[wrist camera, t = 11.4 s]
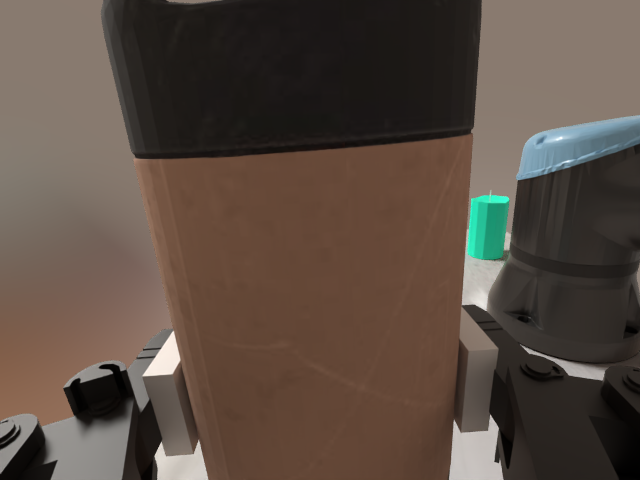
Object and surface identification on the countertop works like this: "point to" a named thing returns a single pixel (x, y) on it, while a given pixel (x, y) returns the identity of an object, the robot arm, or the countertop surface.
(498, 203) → the candle
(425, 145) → the travel mug
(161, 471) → the countertop surface
